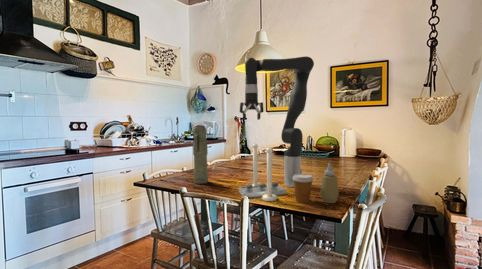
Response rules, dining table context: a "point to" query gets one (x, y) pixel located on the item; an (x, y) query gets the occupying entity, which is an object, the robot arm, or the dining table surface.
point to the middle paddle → (262, 185)
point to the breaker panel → (261, 191)
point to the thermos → (200, 155)
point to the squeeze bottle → (329, 186)
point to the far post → (255, 165)
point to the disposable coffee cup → (302, 187)
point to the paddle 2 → (274, 184)
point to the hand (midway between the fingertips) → (251, 119)
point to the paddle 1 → (249, 186)
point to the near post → (269, 178)
